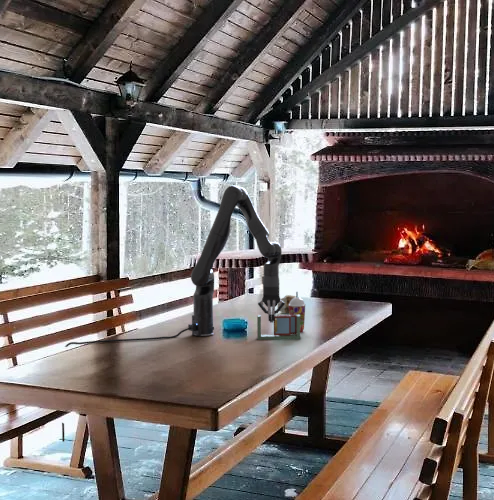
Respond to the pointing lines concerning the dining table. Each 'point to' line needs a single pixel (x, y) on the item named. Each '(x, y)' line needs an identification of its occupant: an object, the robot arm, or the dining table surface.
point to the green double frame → (294, 332)
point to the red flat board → (282, 325)
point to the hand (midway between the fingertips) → (271, 322)
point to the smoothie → (298, 309)
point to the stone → (286, 303)
